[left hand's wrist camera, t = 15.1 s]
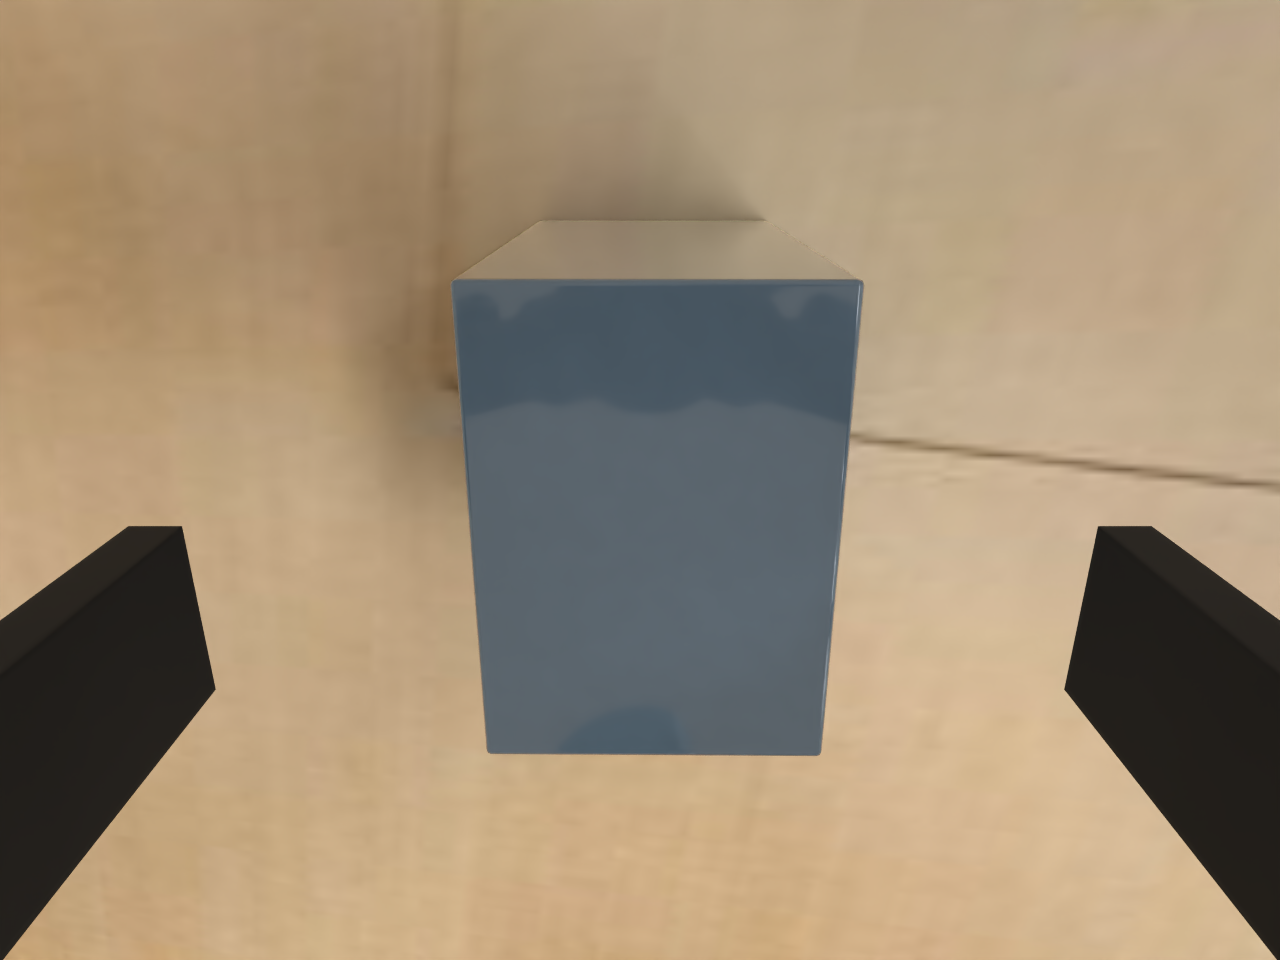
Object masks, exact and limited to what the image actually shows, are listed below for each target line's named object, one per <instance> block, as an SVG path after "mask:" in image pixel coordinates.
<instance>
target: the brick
mask: <svg viewBox="0 0 1280 960" xmlns="http://www.w3.org/2000/svg"><path fill="white" fill-rule="evenodd" d="M450 288H451V301H452V313H453V326H454V339H455V352H456V364H457V377H458V390H459V403H460V415H461V428H462V441H463V454H464V467H465V479H466V492H467V505H468V518H469V530H470V543H471V556H472V569H473V581H474V594H475V607H476V620H477V633H478V645H479V658H480V671H481V684H482V696H483V709H484V722H485V735H486V747H487V751H488V753H490V754H588V755H751V756H818V755H820V753H821V750H822V739H823V728H824V717H825V706H826V695H827V685H828V674H829V663H830V652H831V641H832V630H833V619H834V608H835V598H836V587H837V576H838V565H839V554H840V543H841V532H842V521H843V511H844V500H845V489H846V478H847V467H848V456H849V445H850V434H851V423H852V413H853V402H854V391H855V380H856V369H857V358H858V347H859V336H860V326H861V315H862V304H863V293H864V283H863V281H862V280H860V279H859V278H857V277H856V276H854V275H852V274H851V273H849V272H848V271H846V270H845V269H843V268H841V267H840V266H838V265H837V264H835V263H833V262H832V261H830V260H829V259H827V258H825V257H824V256H822V255H821V254H819V253H818V252H816V251H814V250H813V249H811V248H810V247H808V246H806V245H805V244H803V243H802V242H800V241H798V240H797V239H795V238H794V237H792V236H790V235H789V234H787V233H786V232H784V231H783V230H781V229H779V228H778V227H776V226H775V225H773V224H771V223H770V222H768V221H766V220H541V221H539V222H537V223H536V224H534V225H533V226H531V227H530V228H528V229H527V230H525V231H524V232H522V233H521V234H519V235H518V236H517V237H515V238H514V239H512V240H511V241H509V242H508V243H506V244H505V245H503V246H502V247H500V248H499V249H497V250H496V251H494V252H493V253H492V254H490V255H489V256H487V257H486V258H484V259H483V260H481V261H480V262H478V263H477V264H475V265H474V266H472V267H471V268H469V269H468V270H466V271H465V272H464V273H462V274H461V275H459V276H458V277H456V278H455V279H453V280H452V281H451V284H450Z"/></svg>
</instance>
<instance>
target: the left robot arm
mask: <svg viewBox="0 0 1280 960" xmlns="http://www.w3.org/2000/svg"><path fill="white" fill-rule="evenodd" d="M215 690H216V689H215V684H214V679H213V674H212V670H211V665H210V660H209V655H208V650H207V645H206V641H205V636H204V631H203V626H202V621H201V616H200V612H199V607H198V602H197V597H196V592H195V587H194V583H193V578H192V573H191V568H190V563H189V558H188V554H187V549H186V544H185V539H184V534H183V529H182V526H128V527H127V528H125V529H124V530H123V531H121V532H120V533H119V534H117V535H116V536H115V537H113V538H112V539H110V540H109V541H108V542H106V543H105V544H104V545H102V546H101V547H100V548H98V549H97V550H95V551H94V552H93V553H91V554H90V555H89V556H87V557H86V558H85V559H83V560H82V561H81V562H79V563H78V564H76V565H75V566H74V567H72V568H71V569H70V570H68V571H67V572H66V573H64V574H63V575H61V576H60V577H59V578H57V579H56V580H55V581H53V582H52V583H51V584H49V585H48V586H47V587H45V588H44V589H42V590H41V591H40V592H38V593H37V594H36V595H34V596H33V597H32V598H30V599H29V600H27V601H26V602H25V603H23V604H22V605H21V606H19V607H18V608H17V609H15V610H14V611H13V612H11V613H10V614H8V615H7V616H6V617H4V618H3V619H2V620H0V960H3V959H4V958H5V956H6V955H7V954H8V953H9V951H10V950H11V949H12V948H13V946H14V945H15V944H16V942H17V941H18V940H19V939H20V937H21V936H22V935H23V934H24V932H25V931H26V930H27V929H28V927H29V926H30V925H31V923H32V922H33V921H34V920H35V918H36V917H37V916H38V915H39V913H40V912H41V911H42V909H43V908H44V907H45V906H46V904H47V903H48V902H49V901H50V899H51V898H52V897H53V895H54V894H55V893H56V892H57V890H58V889H59V888H60V887H61V885H62V884H63V883H64V881H65V880H66V879H67V878H68V876H69V875H70V874H71V873H72V871H73V870H74V869H75V867H76V866H77V865H78V864H79V862H80V861H81V860H82V859H83V857H84V856H85V855H86V854H87V852H88V851H89V850H90V848H91V847H92V846H93V845H94V843H95V842H96V841H97V840H98V838H99V837H100V836H101V834H102V833H103V832H104V831H105V829H106V828H107V827H108V826H109V824H110V823H111V822H112V820H113V819H114V818H115V817H116V815H117V814H118V813H119V812H120V810H121V809H122V808H123V806H124V805H125V804H126V803H127V801H128V800H129V799H130V798H131V796H132V795H133V794H134V793H135V791H136V790H137V789H138V787H139V786H140V785H141V784H142V782H143V781H144V780H145V779H146V777H147V776H148V775H149V773H150V772H151V771H152V770H153V768H154V767H155V766H156V765H157V763H158V762H159V761H160V759H161V758H162V757H163V756H164V754H165V753H166V752H167V751H168V749H169V748H170V747H171V745H172V744H173V743H174V742H175V740H176V739H177V738H178V737H179V735H180V734H181V733H182V732H183V730H184V729H185V728H186V726H187V725H188V724H189V723H190V721H191V720H192V719H193V718H194V716H195V715H196V714H197V712H198V711H199V710H200V709H201V707H202V706H203V705H204V704H205V702H206V701H207V700H208V698H209V697H210V696H211V695H212V693H213V692H214V691H215ZM1064 690H1065V691H1066V692H1067V693H1068V695H1069V696H1070V697H1071V698H1072V700H1073V701H1074V702H1075V704H1076V705H1077V706H1078V707H1079V709H1080V710H1081V711H1082V712H1083V714H1084V715H1085V716H1086V718H1087V719H1088V720H1089V721H1090V723H1091V724H1092V725H1093V726H1094V728H1095V729H1096V730H1097V732H1098V733H1099V734H1100V735H1101V737H1102V738H1103V739H1104V740H1105V742H1106V743H1107V744H1108V745H1109V747H1110V748H1111V749H1112V751H1113V752H1114V753H1115V754H1116V756H1117V757H1118V758H1119V759H1120V761H1121V762H1122V763H1123V765H1124V766H1125V767H1126V768H1127V770H1128V771H1129V772H1130V773H1131V775H1132V776H1133V777H1134V779H1135V780H1136V781H1137V782H1138V784H1139V785H1140V786H1141V787H1142V789H1143V790H1144V791H1145V793H1146V794H1147V795H1148V796H1149V798H1150V799H1151V800H1152V801H1153V803H1154V804H1155V805H1156V807H1157V808H1158V809H1159V810H1160V812H1161V813H1162V814H1163V815H1164V817H1165V818H1166V819H1167V820H1168V822H1169V823H1170V824H1171V826H1172V827H1173V828H1174V829H1175V831H1176V832H1177V833H1178V834H1179V836H1180V837H1181V838H1182V840H1183V841H1184V842H1185V843H1186V845H1187V846H1188V847H1189V848H1190V850H1191V851H1192V852H1193V854H1194V855H1195V856H1196V857H1197V859H1198V860H1199V861H1200V862H1201V864H1202V865H1203V866H1204V868H1205V869H1206V870H1207V871H1208V873H1209V874H1210V875H1211V876H1212V878H1213V879H1214V880H1215V881H1216V883H1217V884H1218V885H1219V887H1220V888H1221V889H1222V890H1223V892H1224V893H1225V894H1226V895H1227V897H1228V898H1229V899H1230V901H1231V902H1232V903H1233V904H1234V906H1235V907H1236V908H1237V909H1238V911H1239V912H1240V913H1241V915H1242V916H1243V917H1244V918H1245V920H1246V921H1247V922H1248V923H1249V925H1250V926H1251V927H1252V929H1253V930H1254V931H1255V932H1256V934H1257V935H1258V936H1259V937H1260V939H1261V940H1262V941H1263V942H1264V944H1265V945H1266V946H1267V948H1268V949H1269V950H1270V951H1271V953H1272V954H1273V955H1274V956H1275V958H1276V959H1277V960H1280V620H1278V619H1277V618H1276V617H1274V616H1273V615H1272V614H1270V613H1269V612H1267V611H1266V610H1265V609H1263V608H1262V607H1261V606H1259V605H1258V604H1257V603H1255V602H1254V601H1253V600H1251V599H1250V598H1248V597H1247V596H1246V595H1244V594H1243V593H1242V592H1240V591H1239V590H1238V589H1236V588H1235V587H1233V586H1232V585H1231V584H1229V583H1228V582H1227V581H1225V580H1224V579H1223V578H1221V577H1220V576H1219V575H1217V574H1216V573H1214V572H1213V571H1212V570H1210V569H1209V568H1208V567H1206V566H1205V565H1204V564H1202V563H1201V562H1199V561H1198V560H1197V559H1195V558H1194V557H1193V556H1191V555H1190V554H1189V553H1187V552H1186V551H1185V550H1183V549H1182V548H1180V547H1179V546H1178V545H1176V544H1175V543H1174V542H1172V541H1171V540H1170V539H1168V538H1167V537H1165V536H1164V535H1163V534H1161V533H1160V532H1159V531H1157V530H1156V529H1155V528H1153V527H1152V526H1098V529H1097V534H1096V539H1095V544H1094V549H1093V554H1092V558H1091V563H1090V568H1089V573H1088V578H1087V583H1086V587H1085V592H1084V597H1083V602H1082V607H1081V612H1080V616H1079V621H1078V626H1077V631H1076V636H1075V641H1074V645H1073V650H1072V655H1071V660H1070V665H1069V670H1068V674H1067V679H1066V684H1065V689H1064Z"/></svg>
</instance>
